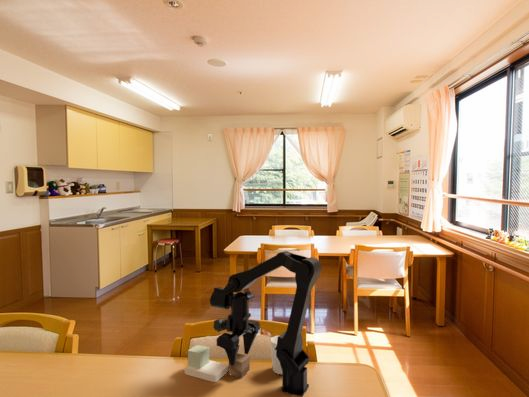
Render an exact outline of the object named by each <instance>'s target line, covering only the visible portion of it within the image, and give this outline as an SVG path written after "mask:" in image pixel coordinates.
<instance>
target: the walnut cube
mask: <svg viewBox="0 0 529 397" xmlns="http://www.w3.org/2000/svg"><path fill="white" fill-rule="evenodd" d="M250 358H251V356H250V355H248V354H241V353H237V357H236V360H235V363H234V366H232V365H230V362H229V361H228V365H229V372H228V375H229V374H231V375H230V376H232V375H234V376H233V377H236V376H237V378H239V377H240V379H243V378H244V377H245V376H246V375H248V373H249V372H250V371H249V370H251V369H250V368H251V367H250V366H251V365H250V363H251V361H250V360H251V359H250ZM248 371H249V372H248ZM247 372H248V373H247Z"/></svg>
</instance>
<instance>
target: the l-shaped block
mask: <svg viewBox="0 0 529 397" xmlns="http://www.w3.org/2000/svg"><path fill="white" fill-rule="evenodd" d="M228 371H229V364H228V363H222V362H218V361H215V360H211V359H210V347H209V346H205V345H200V344H196V345H194V346H193V347H191V348H189V349H188V350H187V366H185V367H184V375H188V376H191V377H194V378H199V379H201V380H204V381H208V382H212V383H215V384H216V383H217V382H218V381H219V380H221V379H222V378H223V377H224V376H225V375H227V374H228V373H229V372H228ZM227 372H228V373H227ZM224 374H225V375H224Z"/></svg>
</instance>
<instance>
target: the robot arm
mask: <svg viewBox="0 0 529 397" xmlns="http://www.w3.org/2000/svg"><path fill="white" fill-rule="evenodd" d="M281 267H283V268H285V269H286V270H288V271H289V272H291V273H293V274H295V275H294V276H295V277H294V279H295V280H294V281H295V285H296V288H295V294H294V297H293V301H292V306H291V310H290V315H289V319H288V324H287V328H286V331H284V332H283V333H281V334H280V336H279V335H278V336H279V337H278V339H277V346H276V348H275V350H277V351H276V357H277V358H278V360H279V362H280V365H281V368H282V375H281V376H282V377H281V378H282V379H281V380H282V381H281V382H282V384H281V385H282V388H281V391H282V392H283V393H286V394H291V395H293V396H298V397H304V395H305V393H306V391H307V390H308V388H309V387H310V384H309V383H308V367H307V365H308V364H309V361H310V358H311V357H310V356H309V355H308V354H307V352H306V351H305V350H304V349H303V343H304V341H303V335H302V332H303V328H304V323H305V321H306V319H305V318H306V314H307V310H308V306H309V302H310V298H311V293H312V290H313V288H314V286H315V285H316V282H317V281H318V279H319V277H320V274H321V273H322V269H323V266H322V263H321V261H320V260H319V259H317V258H316V257H313V256H311V257H308V256H307V257H306V256H304V255H299V254H296V253H292V252H290V251H288V250H283V251H281V252H278V253H276V255H273V256H272V257H270V258H268V259H267V260H265V261H263V262H261V263H260V264H258V265H256V266H254V267H252V268H250V269H246V270H243V271H241V272H237V273H234V274H231V275H229V277H228V280H227V283H226V285H225V286H224V287H221V286H216V287H213V292H212V293H211V295H210V298H209V304H210V307H213V308H218V309H222V310H229V309H230V314H228V315H227V317H225V318H222V319H221V318H218V319H215V320H214V321H213V329H214V331H217V332H218V333H220V332H222V331H226V332H224V333H222V334H220V335H219V336H218V337H217V338H216V346H217V347H219V348H221V349H223V350H224V351H225V353H226V356H227V359H228V363H229V362H230V365H232V366H234V363H235V360H236V357H237V353H238V352H239V350H240V345H239V344H240V338H241V337H242V339H243V340H242V341H243V351H244V355H248V354H249V353H250V351H251V348H252V345H253V344H254V341H255V339H256V338H257V334H258V333H259V331H260V330H261V323H260V322H259V321H257V320H254V319H249V318H251V317H252V314H251V313H250V312H249V301H250V300H252V299H255V295H254V294H253V293H252V292H251V291H250V290H247V291H245V292H242V291H244V290H246V289H249V288H250V287H251V286H253V285H254V284H255V283H256V282H257V280H259V279H260V278H262V277H264V276H266V275H268V274H270V273H271V272H272V273H273V272H274V271H276V270H278V269H279V268H281ZM227 332H228V333H227ZM230 332H231V333H230ZM238 354H239V353H238Z"/></svg>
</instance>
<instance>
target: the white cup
mask: <svg viewBox="0 0 529 397" xmlns="http://www.w3.org/2000/svg"><path fill="white" fill-rule="evenodd" d="M280 335H281V334H280ZM280 335H275V336H272V337H271V339H270V348H271V349H270V353H271V365H272V366H271V367H272V372H273V371H274V372H273V373H275V374H276V373H277V375H279V374H281V376H282V368H281V365H280V362H279V360H278V358H277V357H276V351H277V350H275V348H276V346H277V339H278V337H279V336H280Z"/></svg>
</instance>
